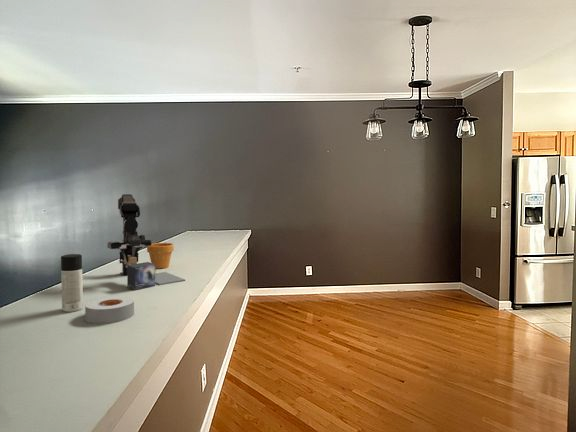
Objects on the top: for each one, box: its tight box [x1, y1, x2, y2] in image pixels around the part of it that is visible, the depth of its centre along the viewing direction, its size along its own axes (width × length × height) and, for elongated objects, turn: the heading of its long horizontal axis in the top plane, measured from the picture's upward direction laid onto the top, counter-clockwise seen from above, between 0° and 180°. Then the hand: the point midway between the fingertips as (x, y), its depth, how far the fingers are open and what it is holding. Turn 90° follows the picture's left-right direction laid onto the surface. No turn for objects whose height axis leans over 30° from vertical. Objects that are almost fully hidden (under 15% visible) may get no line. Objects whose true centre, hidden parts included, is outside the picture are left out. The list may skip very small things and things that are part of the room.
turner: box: [124, 255, 138, 267], centre depth 174 cm, size 14×7×4 cm, turn 43°
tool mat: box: [155, 271, 186, 286], centre depth 183 cm, size 22×13×1 cm, turn 43°
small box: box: [126, 261, 156, 291], centre depth 167 cm, size 11×6×10 cm, turn 142°
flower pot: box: [146, 242, 174, 270], centre depth 210 cm, size 14×14×13 cm
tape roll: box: [84, 296, 135, 325], centre depth 129 cm, size 15×15×5 cm
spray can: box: [60, 253, 84, 313], centre depth 134 cm, size 7×7×20 cm
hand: (130, 261), depth 176 cm, fingers closed on turner, 3 cm apart
